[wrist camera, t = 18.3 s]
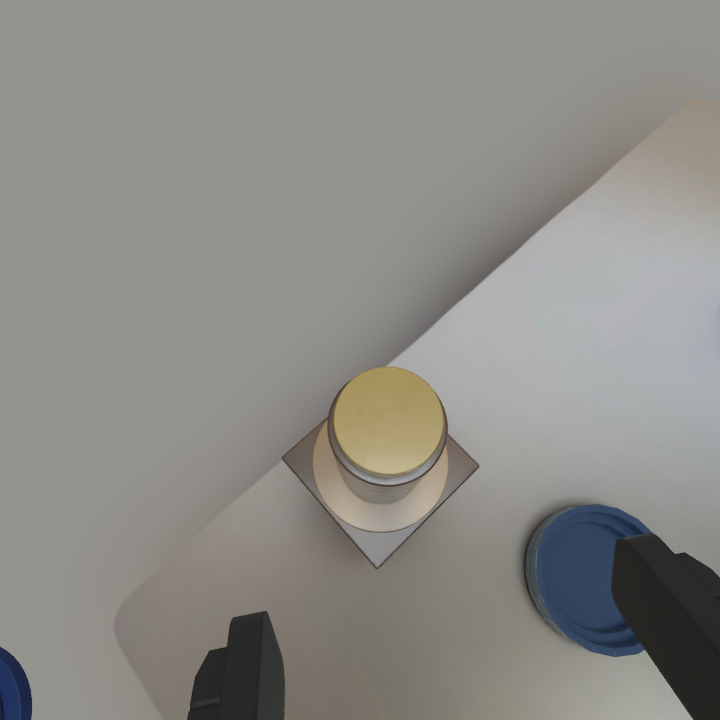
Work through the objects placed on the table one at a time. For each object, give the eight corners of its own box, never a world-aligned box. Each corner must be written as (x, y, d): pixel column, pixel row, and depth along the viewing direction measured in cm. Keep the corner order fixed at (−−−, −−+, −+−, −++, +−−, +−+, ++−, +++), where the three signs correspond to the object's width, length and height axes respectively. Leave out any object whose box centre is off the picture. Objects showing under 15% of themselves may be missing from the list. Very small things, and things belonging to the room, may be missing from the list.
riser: (372, 558, 44) (376, 570, 26) (314, 490, 46) (280, 457, 28) (435, 495, 45) (480, 465, 28) (376, 432, 48) (382, 367, 30)
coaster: (346, 557, 26) (345, 557, 26) (292, 429, 28) (291, 427, 28) (471, 496, 27) (473, 495, 27) (410, 377, 29) (410, 374, 29)
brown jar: (360, 519, 26) (357, 506, 17) (326, 441, 28) (305, 388, 18) (436, 482, 27) (475, 449, 17) (399, 408, 28) (416, 340, 19)
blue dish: (567, 672, 40) (585, 683, 37) (499, 540, 44) (509, 540, 41) (679, 609, 42) (706, 615, 39) (604, 487, 45) (622, 482, 42)
